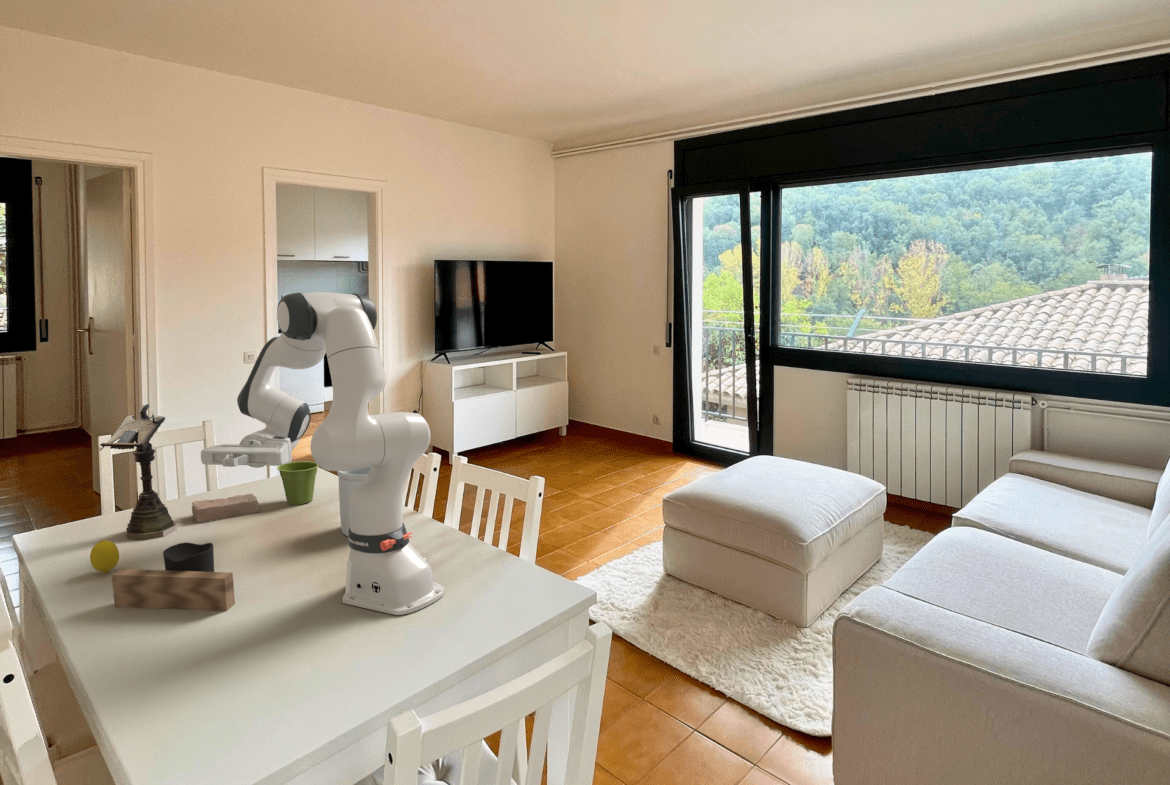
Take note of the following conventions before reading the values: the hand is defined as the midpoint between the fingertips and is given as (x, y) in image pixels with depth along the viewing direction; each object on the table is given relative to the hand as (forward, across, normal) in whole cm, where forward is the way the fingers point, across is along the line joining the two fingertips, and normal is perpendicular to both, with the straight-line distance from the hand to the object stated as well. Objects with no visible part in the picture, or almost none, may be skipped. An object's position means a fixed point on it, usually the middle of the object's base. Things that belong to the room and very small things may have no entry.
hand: (228, 463), depth 164 cm
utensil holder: (-24, +24, +25) cm, 42 cm away
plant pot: (-45, -5, +24) cm, 52 cm away
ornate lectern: (-15, -32, +24) cm, 43 cm away
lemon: (+8, -26, +24) cm, 37 cm away
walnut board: (+23, 0, +24) cm, 34 cm away
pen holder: (+17, 0, +25) cm, 30 cm away
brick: (-33, -21, +25) cm, 46 cm away
